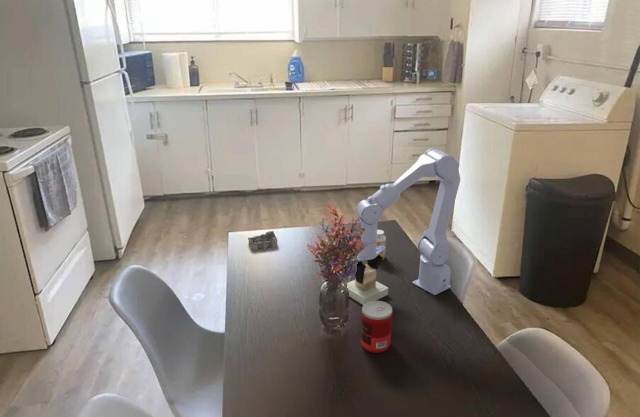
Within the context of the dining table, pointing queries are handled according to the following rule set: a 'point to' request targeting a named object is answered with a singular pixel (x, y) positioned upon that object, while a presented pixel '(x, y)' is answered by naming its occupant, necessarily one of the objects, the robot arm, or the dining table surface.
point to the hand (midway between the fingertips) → (365, 279)
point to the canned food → (376, 326)
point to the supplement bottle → (381, 240)
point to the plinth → (366, 292)
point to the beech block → (367, 279)
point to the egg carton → (265, 243)
